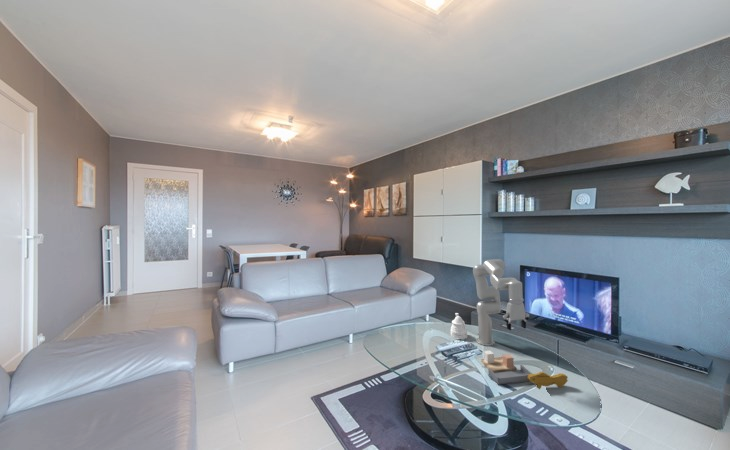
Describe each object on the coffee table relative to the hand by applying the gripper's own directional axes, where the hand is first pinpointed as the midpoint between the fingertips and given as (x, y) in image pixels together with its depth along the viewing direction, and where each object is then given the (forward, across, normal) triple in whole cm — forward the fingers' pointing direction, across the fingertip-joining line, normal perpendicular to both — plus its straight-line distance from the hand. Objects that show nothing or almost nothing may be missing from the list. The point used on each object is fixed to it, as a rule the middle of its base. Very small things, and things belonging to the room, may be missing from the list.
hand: (516, 328), depth 179 cm
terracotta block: (+27, +2, -6) cm, 27 cm away
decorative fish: (+29, -8, +16) cm, 34 cm away
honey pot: (+29, +12, -57) cm, 65 cm away
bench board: (+29, +6, -10) cm, 31 cm away
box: (+29, +7, +3) cm, 30 cm away
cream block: (+26, +11, -13) cm, 32 cm away
